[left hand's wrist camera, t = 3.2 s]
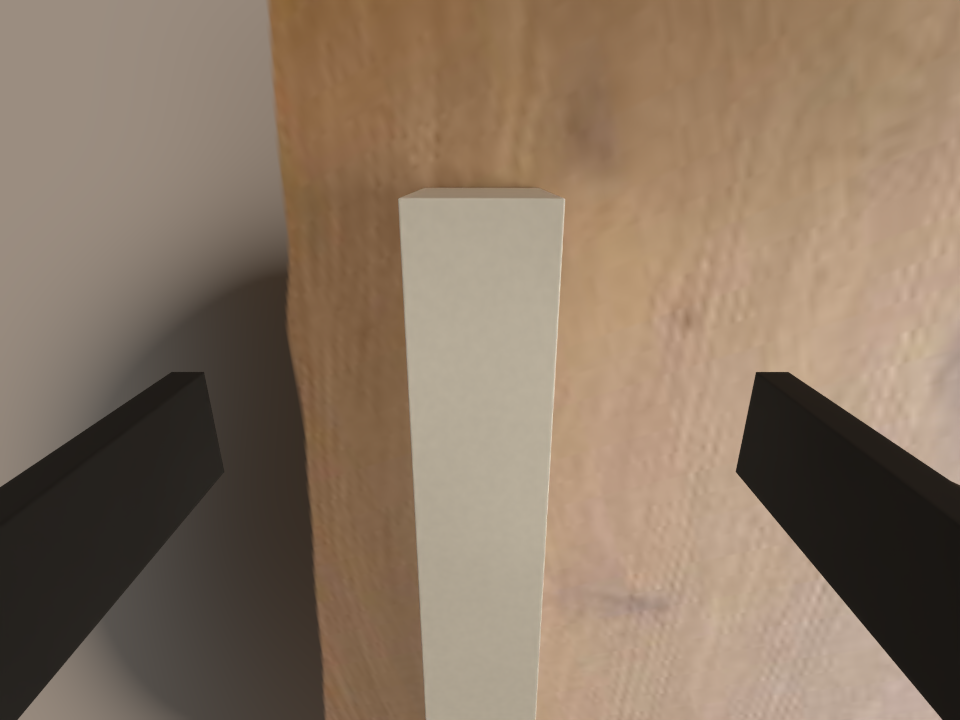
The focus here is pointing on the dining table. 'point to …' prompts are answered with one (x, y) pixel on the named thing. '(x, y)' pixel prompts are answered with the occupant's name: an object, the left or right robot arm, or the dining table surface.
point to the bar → (481, 436)
